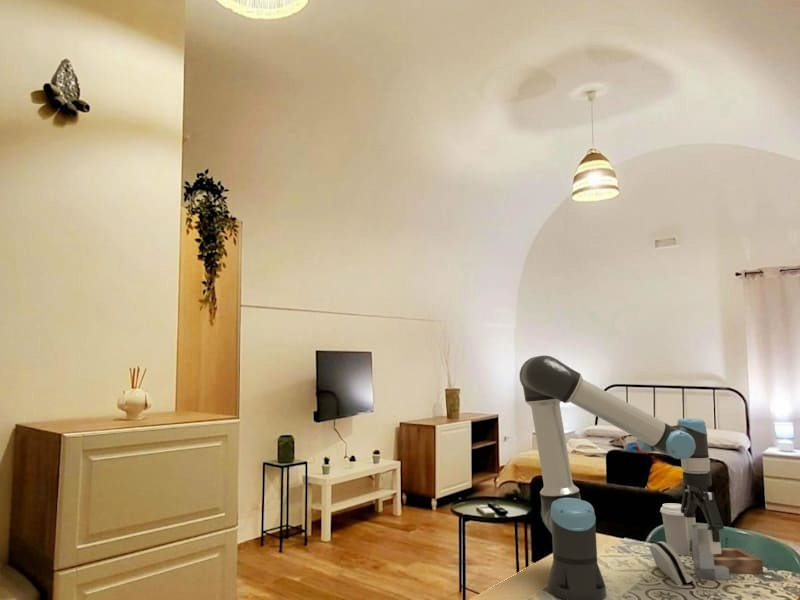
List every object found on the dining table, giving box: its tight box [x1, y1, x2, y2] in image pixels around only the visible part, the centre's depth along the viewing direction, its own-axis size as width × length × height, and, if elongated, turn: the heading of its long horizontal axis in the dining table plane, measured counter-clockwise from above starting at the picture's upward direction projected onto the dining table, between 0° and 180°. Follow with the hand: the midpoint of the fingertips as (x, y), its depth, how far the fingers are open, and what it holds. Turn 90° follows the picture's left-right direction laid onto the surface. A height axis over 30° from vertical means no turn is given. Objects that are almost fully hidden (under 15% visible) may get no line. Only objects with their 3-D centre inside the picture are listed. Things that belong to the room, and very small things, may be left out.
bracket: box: [691, 524, 731, 581], centre depth 165 cm, size 8×4×14 cm, turn 88°
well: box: [690, 547, 764, 575], centre depth 173 cm, size 15×12×4 cm
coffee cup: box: [659, 502, 691, 556], centre depth 187 cm, size 10×10×15 cm
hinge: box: [648, 541, 697, 586], centre depth 166 cm, size 17×5×10 cm, turn 176°
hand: (703, 546), depth 165 cm, fingers open, 13 cm apart
